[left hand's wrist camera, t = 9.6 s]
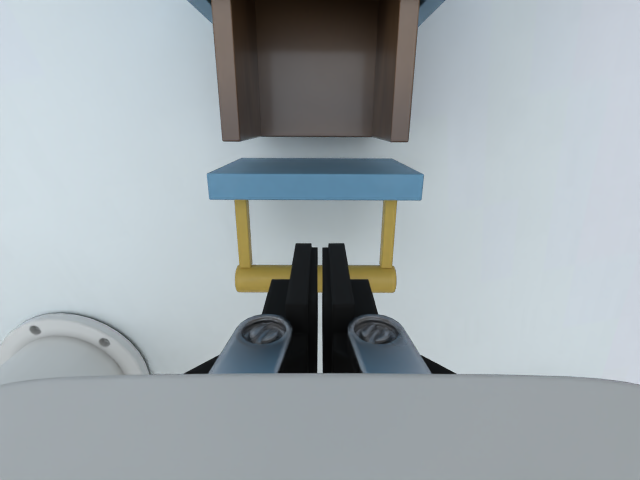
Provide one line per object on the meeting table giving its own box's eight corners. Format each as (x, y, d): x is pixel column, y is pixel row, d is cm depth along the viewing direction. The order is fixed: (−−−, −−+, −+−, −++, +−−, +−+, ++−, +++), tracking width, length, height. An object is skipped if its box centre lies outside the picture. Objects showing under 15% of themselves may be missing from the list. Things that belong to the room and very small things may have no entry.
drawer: (385, 256, 24) (411, 308, 18) (247, 256, 24) (219, 307, 18) (418, -216, 17) (485, -447, 10) (215, -217, 17) (144, -449, 10)
